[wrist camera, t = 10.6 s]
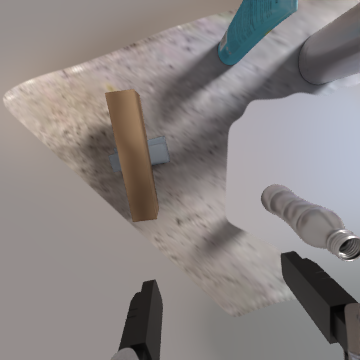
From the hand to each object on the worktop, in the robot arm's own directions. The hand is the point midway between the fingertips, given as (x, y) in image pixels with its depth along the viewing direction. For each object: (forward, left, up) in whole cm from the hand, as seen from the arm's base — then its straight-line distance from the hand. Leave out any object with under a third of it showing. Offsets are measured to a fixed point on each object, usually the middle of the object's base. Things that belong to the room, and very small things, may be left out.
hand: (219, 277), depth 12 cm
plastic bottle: (-18, +10, -30) cm, 37 cm away
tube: (-13, -21, -30) cm, 39 cm away
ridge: (+8, -6, -30) cm, 32 cm away
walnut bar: (+8, -6, -23) cm, 25 cm away
